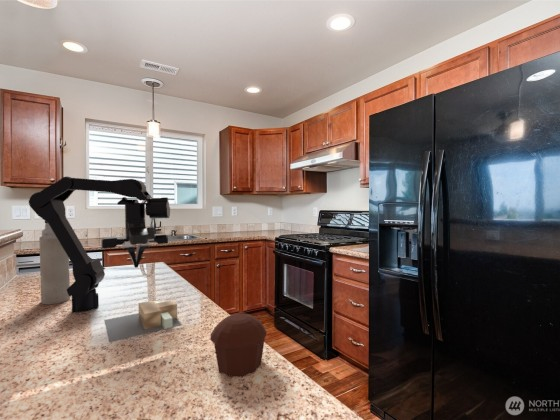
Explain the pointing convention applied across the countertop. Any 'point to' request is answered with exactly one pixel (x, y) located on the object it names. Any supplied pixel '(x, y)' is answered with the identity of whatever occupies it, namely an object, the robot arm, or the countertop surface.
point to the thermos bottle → (53, 268)
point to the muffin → (238, 344)
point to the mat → (130, 327)
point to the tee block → (156, 312)
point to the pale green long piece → (166, 319)
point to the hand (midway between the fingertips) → (136, 267)
